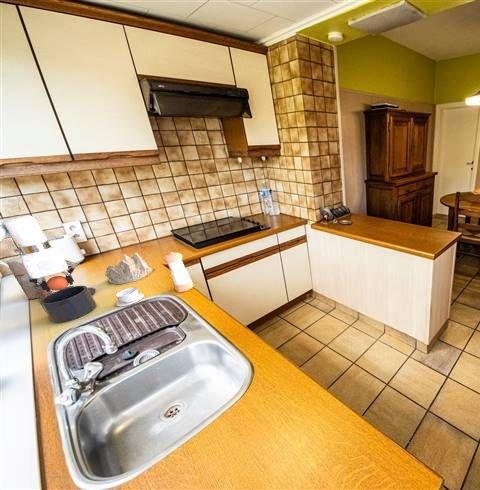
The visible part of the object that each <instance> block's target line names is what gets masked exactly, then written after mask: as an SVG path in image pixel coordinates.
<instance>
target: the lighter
mask: <svg viewBox="0 0 480 490" xmlns="http://www.w3.org/2000/svg"><path fill="white" fill-rule="evenodd" d="M34 284H35V285H33V286H32V287H33V288H34V289H35V290H36V292H37V293H38V295H39V296H40V297H39V299H40V301H41V300H42V299H43V298H44V297H46V296H48V295H50V294H52V293H53V291H52V290H50V291H49V292H47V291H46V290H43V289H42V287H41V286H40V284H37V283H34ZM51 291H52V292H51Z"/></svg>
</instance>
